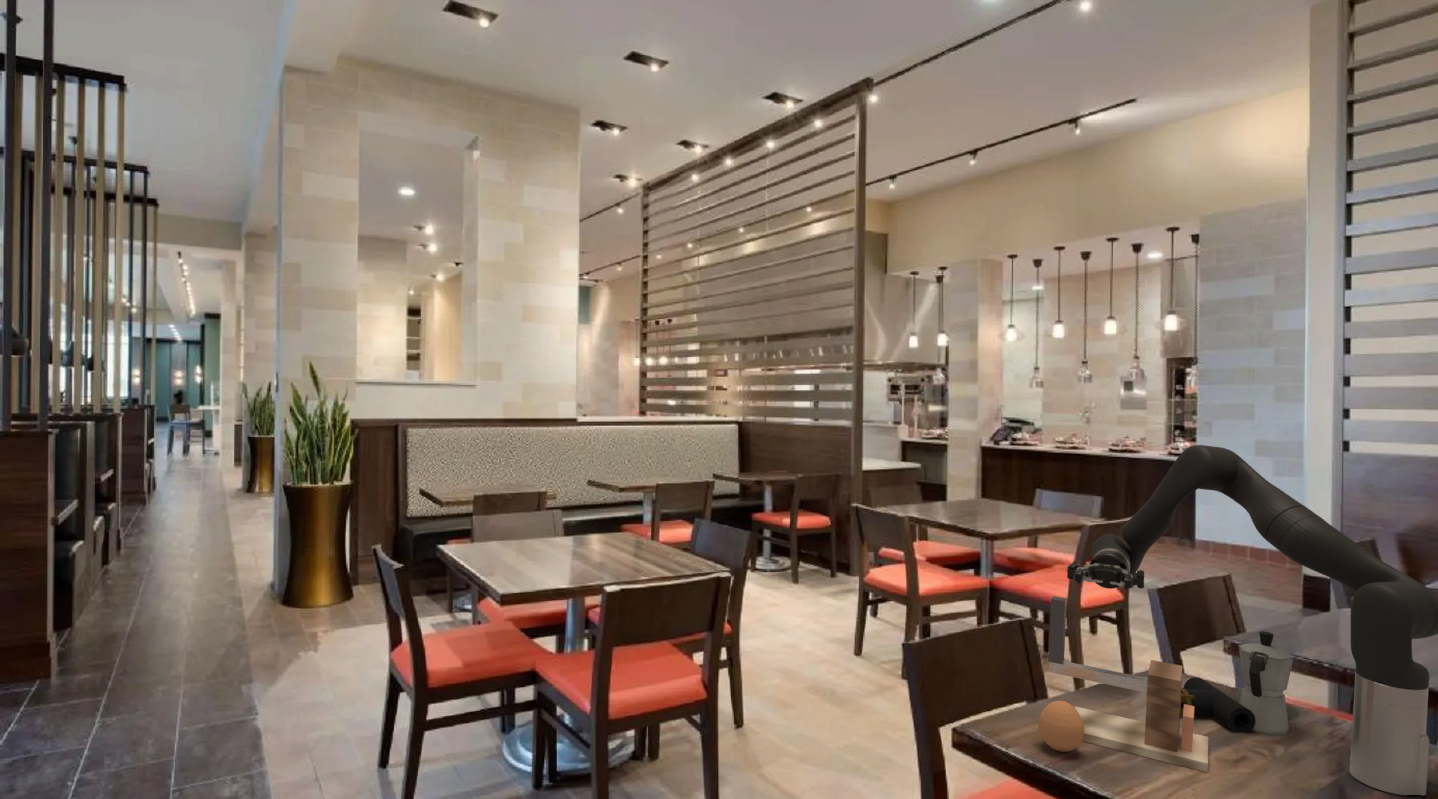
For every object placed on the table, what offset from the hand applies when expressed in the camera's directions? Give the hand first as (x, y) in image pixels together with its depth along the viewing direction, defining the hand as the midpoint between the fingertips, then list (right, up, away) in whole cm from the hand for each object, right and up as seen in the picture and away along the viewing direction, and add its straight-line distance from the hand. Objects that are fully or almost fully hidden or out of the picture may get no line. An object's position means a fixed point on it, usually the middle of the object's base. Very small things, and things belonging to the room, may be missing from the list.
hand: (1102, 581), depth 158 cm
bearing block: (-1, -25, -15) cm, 29 cm away
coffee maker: (+27, -26, -7) cm, 38 cm away
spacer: (+6, -24, -19) cm, 31 cm away
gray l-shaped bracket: (-6, -16, -12) cm, 21 cm away
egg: (-17, -25, -19) cm, 36 cm away
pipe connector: (+18, -26, -2) cm, 32 cm away
